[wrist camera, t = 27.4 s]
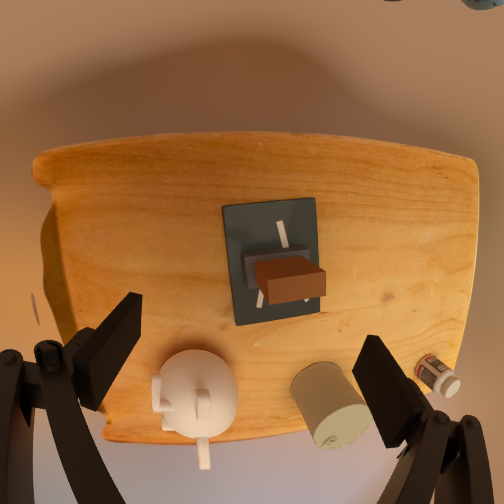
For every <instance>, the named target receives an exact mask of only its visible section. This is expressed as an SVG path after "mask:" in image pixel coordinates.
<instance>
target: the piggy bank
mask: <svg viewBox="0 0 504 504" xmlns="http://www.w3.org/2000/svg"><path fill="white" fill-rule="evenodd" d="M151 389H152V409H153V411H154V412H155V413H162V415H163V417H162V430H168V431H176V432H178V433H180V434H181V435H184V436H186V437H189V438H194V439H196V444H197V455H198V463H199V469H200V470H203V469H210V452H209V442H208V438H211V437H214V436H217V435H219V434H221V433H222V432H224V431H225V430H226V429H227V428H228V427H229V426H230V425H231V423H232V422H233V420H234V418H235V416H236V413H237V408H238V399H239V396H238V386H237V382H236V378H235V376H234V373H233V372H232V370H231V368H230V367H229V365H228V364H227V363H226V362H225V361H224V360H223V359H222V358H220V357H219V356H217V355H215V354H213V353H211V352H208V351H204V350H196V349H195V350H186V351H182V352H179V353H177V354H175V355H173V356H172V357H171V358H169V359H168V360H167V361H166V362H165V363H164V365H163V366H162V368H161V369H160V371H159V374H158V375H152V377H151Z"/></svg>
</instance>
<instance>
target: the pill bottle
mask: <svg viewBox="0 0 504 504" xmlns="http://www.w3.org/2000/svg"><path fill="white" fill-rule="evenodd" d="M415 374H416V376H417V377H418V378H419V379H420V380H421V381H422V382H423V383H425V384H426V385H427V386H428V387H429V388H430V389H431V390H432V391H433V392H435V393H437V394H441V393H442V395H443V396H445V397H446V398H449V397H451V396H453V395H454V394H455V393H456V391H457V390H458V388H459V386H460V380H458V379H457V378H456V377H455V376H454V371H453V370H452V369H450V368H449V367H448V366H446V365H445V364H444V363H442V362H441V361H440V360H438V359H437V358H436V357H434V356H433V355H427V356H425V357H423V358H422V359H421V360H420V362H419V363H418V365H417V367H416V370H415Z"/></svg>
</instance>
